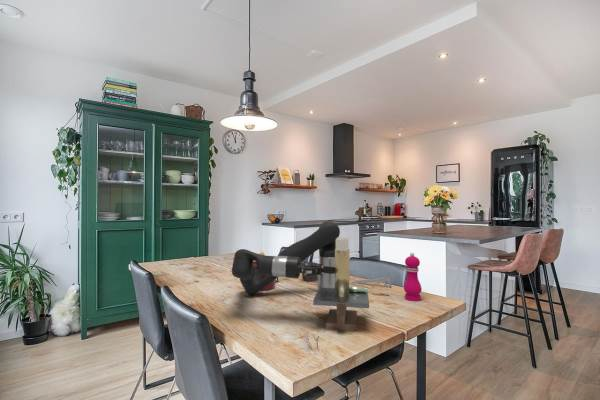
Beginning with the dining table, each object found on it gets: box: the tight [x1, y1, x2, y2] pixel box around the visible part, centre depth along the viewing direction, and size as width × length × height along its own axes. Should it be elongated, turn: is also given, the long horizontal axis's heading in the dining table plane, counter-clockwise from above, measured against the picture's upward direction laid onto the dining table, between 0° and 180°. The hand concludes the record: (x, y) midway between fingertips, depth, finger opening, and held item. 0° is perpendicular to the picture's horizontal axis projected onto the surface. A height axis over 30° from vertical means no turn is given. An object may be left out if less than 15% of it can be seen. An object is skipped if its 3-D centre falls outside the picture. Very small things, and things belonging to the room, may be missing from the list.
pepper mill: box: [403, 252, 423, 302], centre depth 135 cm, size 7×7×20 cm
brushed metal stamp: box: [312, 237, 370, 309], centre depth 109 cm, size 18×16×21 cm
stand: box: [325, 302, 358, 332], centre depth 109 cm, size 10×20×10 cm, turn 169°
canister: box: [253, 251, 276, 292], centre depth 155 cm, size 13×13×18 cm
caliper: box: [351, 275, 392, 288], centre depth 159 cm, size 20×1×6 cm, turn 59°
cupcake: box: [301, 261, 318, 283], centre depth 170 cm, size 10×10×10 cm
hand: (334, 270), depth 109 cm, fingers closed
